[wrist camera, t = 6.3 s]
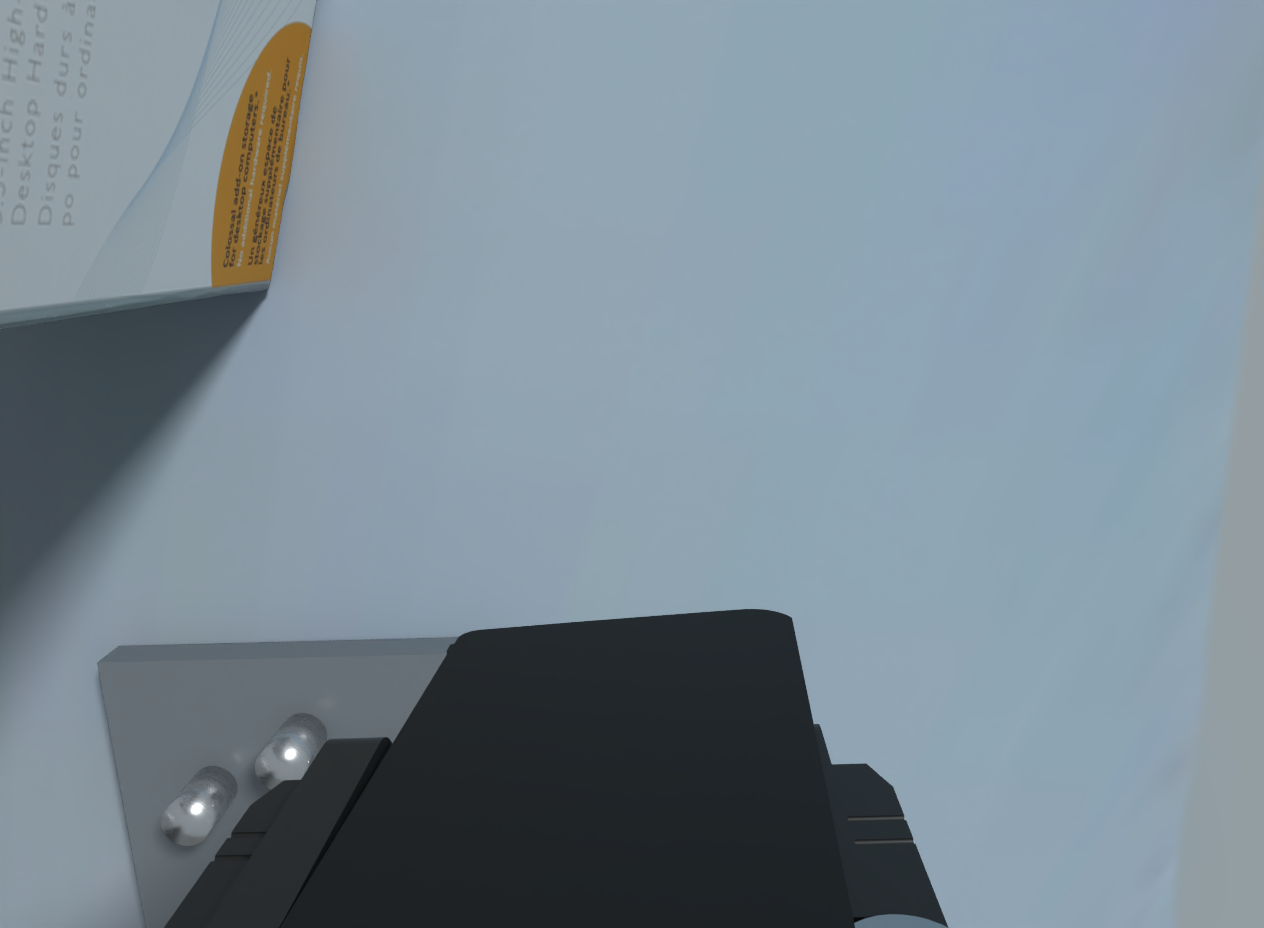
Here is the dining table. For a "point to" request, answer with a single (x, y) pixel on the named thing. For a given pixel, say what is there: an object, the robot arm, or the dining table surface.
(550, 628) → the ink cartridge
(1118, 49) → the dining table surface
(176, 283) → the hard drive box
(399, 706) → the pin tray
